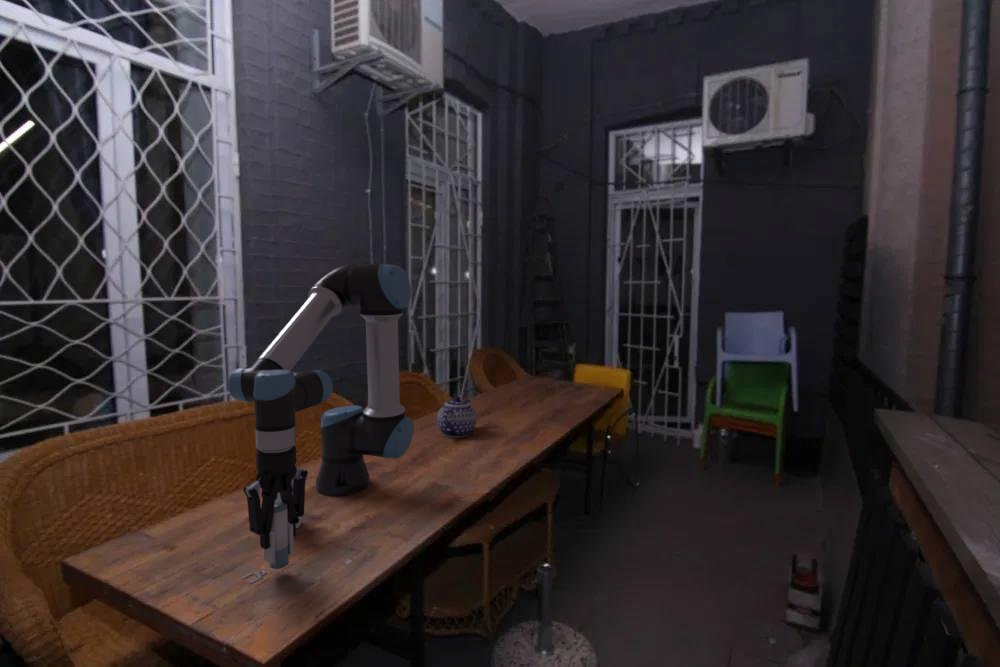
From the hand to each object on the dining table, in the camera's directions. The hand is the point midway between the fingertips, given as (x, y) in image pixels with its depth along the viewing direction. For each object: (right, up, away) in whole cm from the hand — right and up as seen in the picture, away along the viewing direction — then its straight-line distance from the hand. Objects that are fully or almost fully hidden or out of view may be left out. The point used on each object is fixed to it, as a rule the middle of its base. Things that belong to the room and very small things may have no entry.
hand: (279, 556), depth 110 cm
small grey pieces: (0, -4, +1) cm, 4 cm away
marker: (0, -2, 0) cm, 2 cm away
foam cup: (-7, -1, +21) cm, 22 cm away
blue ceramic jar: (+29, +7, +99) cm, 103 cm away
